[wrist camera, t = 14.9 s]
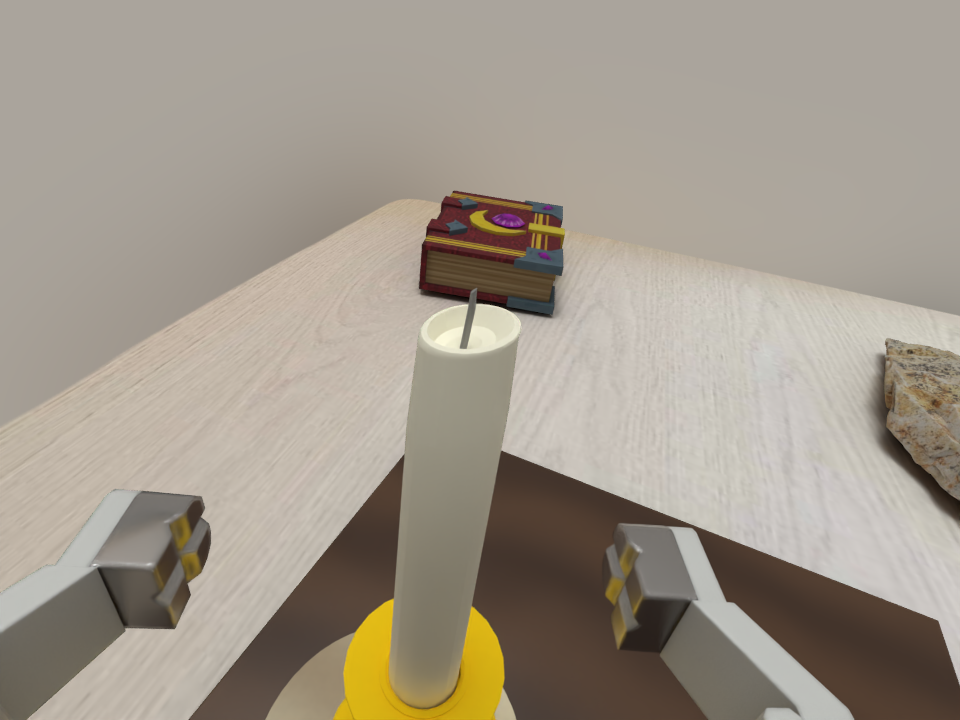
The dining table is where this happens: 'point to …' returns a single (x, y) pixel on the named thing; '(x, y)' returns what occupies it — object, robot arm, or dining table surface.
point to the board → (581, 618)
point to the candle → (441, 532)
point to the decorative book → (494, 250)
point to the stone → (925, 408)
